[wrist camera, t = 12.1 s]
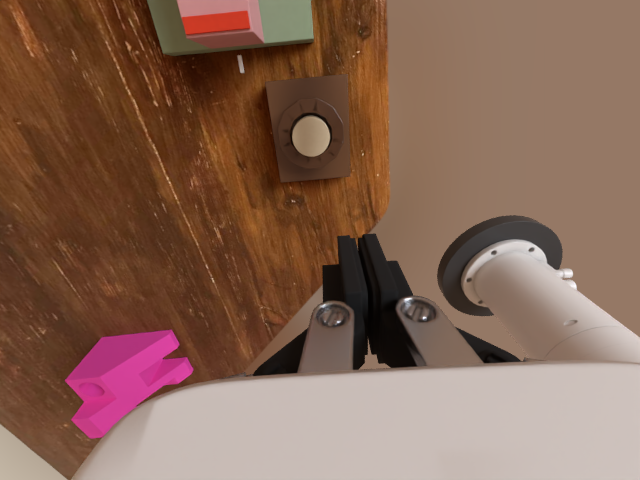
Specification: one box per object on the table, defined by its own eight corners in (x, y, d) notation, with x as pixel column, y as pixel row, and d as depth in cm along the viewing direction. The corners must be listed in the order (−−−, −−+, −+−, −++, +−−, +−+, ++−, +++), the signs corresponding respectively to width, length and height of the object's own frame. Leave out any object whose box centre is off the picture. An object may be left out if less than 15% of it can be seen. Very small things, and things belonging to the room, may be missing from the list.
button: (327, 113, 26) (328, 115, 25) (330, 151, 28) (331, 155, 26) (290, 117, 26) (289, 118, 25) (295, 154, 28) (294, 158, 27)
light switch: (345, 75, 28) (349, 72, 24) (348, 171, 33) (352, 181, 29) (268, 82, 28) (261, 81, 24) (282, 177, 33) (278, 187, 29)
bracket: (130, 375, 50) (90, 438, 41) (101, 337, 45) (49, 398, 36) (193, 369, 50) (166, 431, 41) (171, 329, 45) (136, 390, 36)
